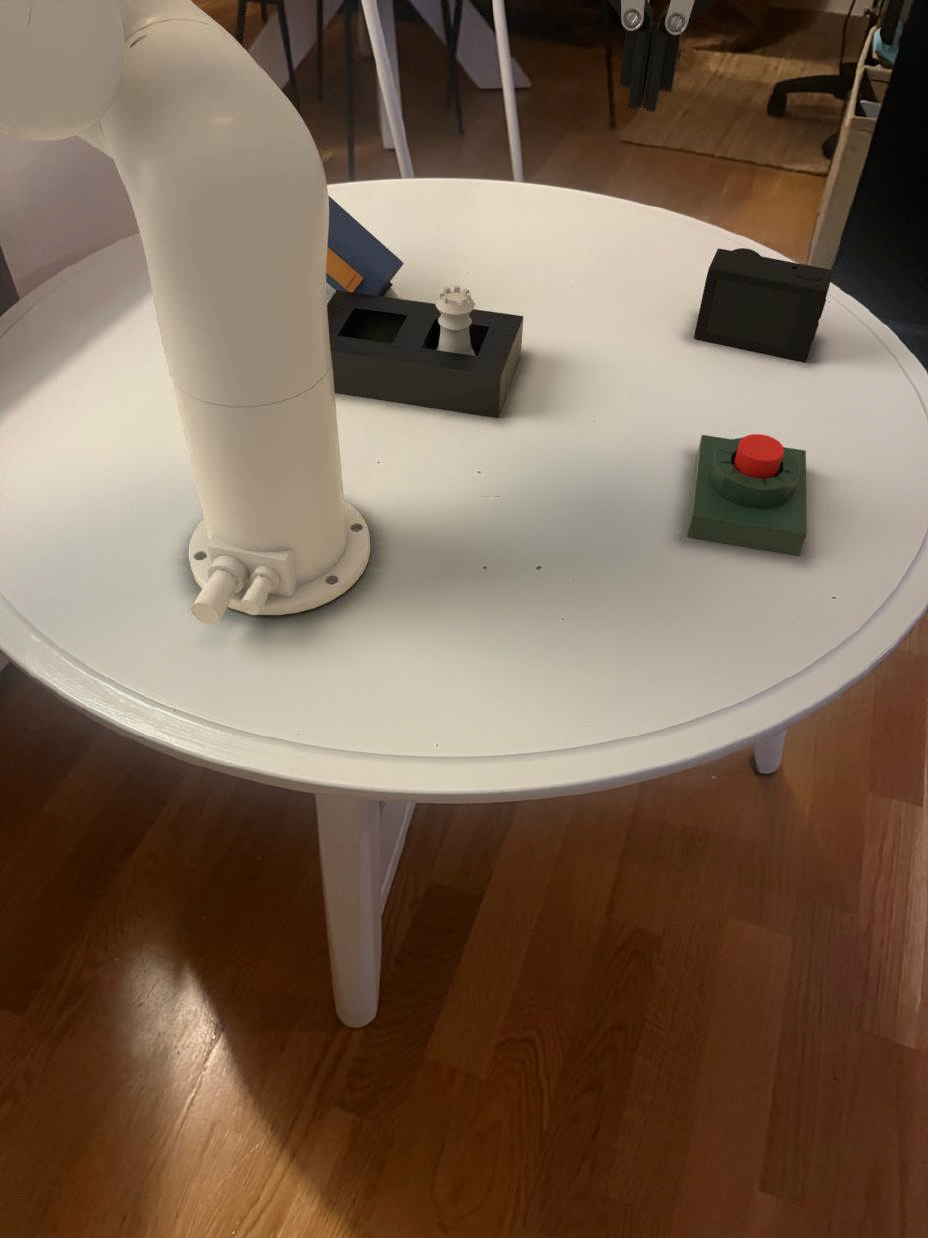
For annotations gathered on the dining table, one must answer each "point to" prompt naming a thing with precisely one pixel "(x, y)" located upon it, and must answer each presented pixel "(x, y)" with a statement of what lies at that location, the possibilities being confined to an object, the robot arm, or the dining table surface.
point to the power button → (759, 456)
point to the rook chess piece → (455, 320)
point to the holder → (420, 354)
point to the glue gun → (357, 257)
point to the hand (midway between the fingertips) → (643, 101)
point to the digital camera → (762, 303)
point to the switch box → (748, 500)
